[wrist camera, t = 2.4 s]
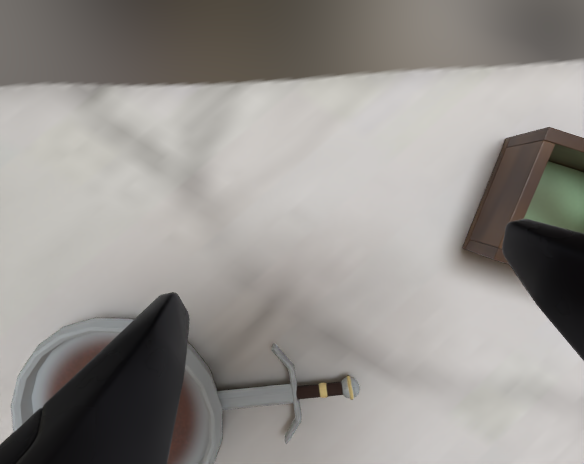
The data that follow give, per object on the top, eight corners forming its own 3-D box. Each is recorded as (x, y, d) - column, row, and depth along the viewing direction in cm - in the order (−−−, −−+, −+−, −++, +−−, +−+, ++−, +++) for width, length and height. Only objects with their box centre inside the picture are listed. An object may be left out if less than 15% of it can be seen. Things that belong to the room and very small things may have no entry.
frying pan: (374, 497, 24) (32, 532, 25) (366, 464, 27) (59, 497, 28) (350, 289, 22) (-24, 336, 23) (344, 278, 25) (12, 320, 26)
